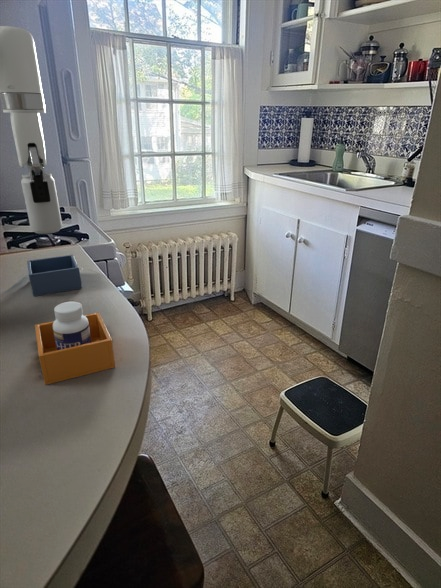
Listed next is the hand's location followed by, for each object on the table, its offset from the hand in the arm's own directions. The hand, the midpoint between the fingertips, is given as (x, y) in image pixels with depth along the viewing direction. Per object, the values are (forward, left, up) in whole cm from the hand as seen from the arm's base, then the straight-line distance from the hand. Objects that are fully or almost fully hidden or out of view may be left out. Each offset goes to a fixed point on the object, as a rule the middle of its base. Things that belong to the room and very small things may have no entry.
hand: (41, 198), depth 82 cm
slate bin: (-1, +1, -20) cm, 20 cm away
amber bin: (+15, -30, -20) cm, 39 cm away
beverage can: (0, 0, -7) cm, 7 cm away
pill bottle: (+15, -30, -20) cm, 39 cm away
